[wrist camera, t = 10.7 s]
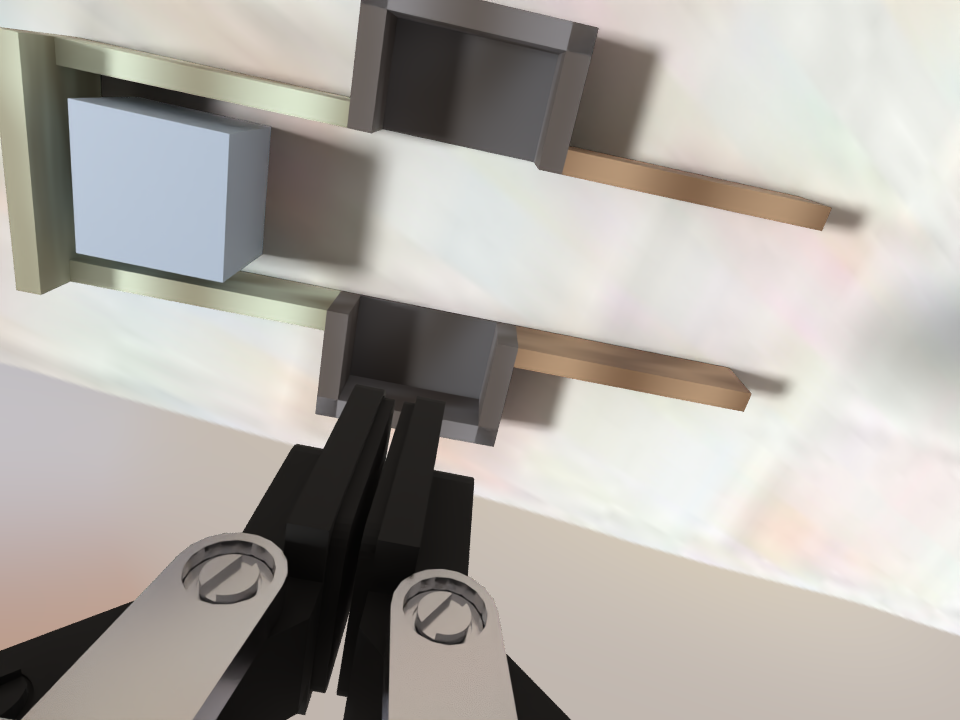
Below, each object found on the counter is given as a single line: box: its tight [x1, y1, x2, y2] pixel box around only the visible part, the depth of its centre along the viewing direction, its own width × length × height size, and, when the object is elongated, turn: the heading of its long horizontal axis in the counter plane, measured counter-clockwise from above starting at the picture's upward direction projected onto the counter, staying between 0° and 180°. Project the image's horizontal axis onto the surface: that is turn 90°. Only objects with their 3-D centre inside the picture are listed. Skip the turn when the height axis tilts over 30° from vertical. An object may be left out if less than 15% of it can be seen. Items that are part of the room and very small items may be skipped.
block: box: [68, 97, 271, 283], centre depth 27 cm, size 6×6×5 cm
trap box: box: [0, 0, 832, 447], centre depth 27 cm, size 33×19×5 cm, turn 78°
